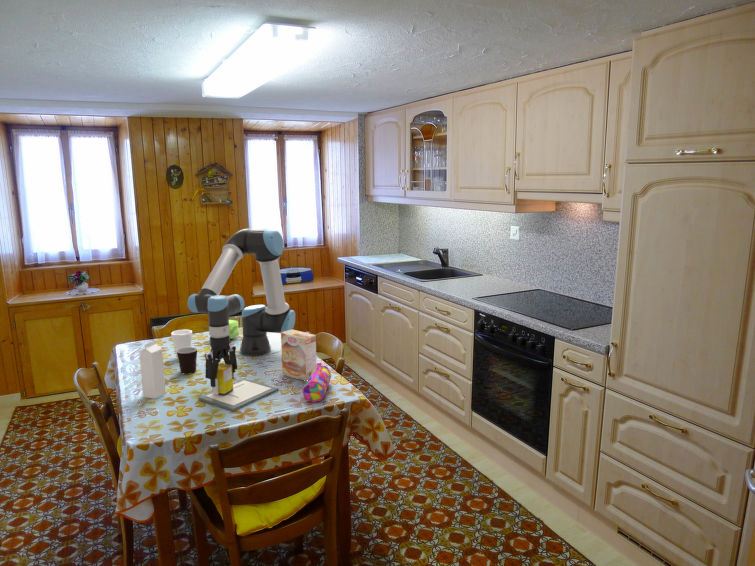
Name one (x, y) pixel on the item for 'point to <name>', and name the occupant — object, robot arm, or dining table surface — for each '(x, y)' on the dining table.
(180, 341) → the foam cup
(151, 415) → the dining table surface
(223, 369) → the supplement box
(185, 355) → the coffee mug
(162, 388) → the milk
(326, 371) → the pencil case
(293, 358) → the coffeecake box
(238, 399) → the paper pad
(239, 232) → the robot arm
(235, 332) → the green lumpy block
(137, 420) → the dining table surface
